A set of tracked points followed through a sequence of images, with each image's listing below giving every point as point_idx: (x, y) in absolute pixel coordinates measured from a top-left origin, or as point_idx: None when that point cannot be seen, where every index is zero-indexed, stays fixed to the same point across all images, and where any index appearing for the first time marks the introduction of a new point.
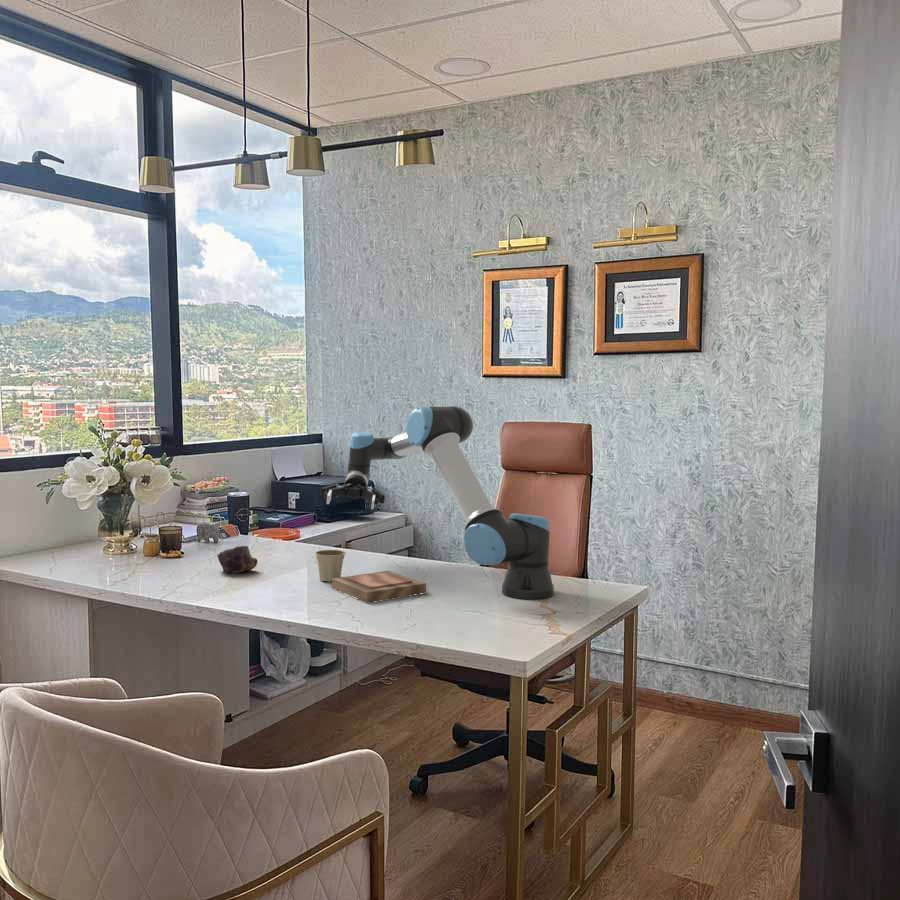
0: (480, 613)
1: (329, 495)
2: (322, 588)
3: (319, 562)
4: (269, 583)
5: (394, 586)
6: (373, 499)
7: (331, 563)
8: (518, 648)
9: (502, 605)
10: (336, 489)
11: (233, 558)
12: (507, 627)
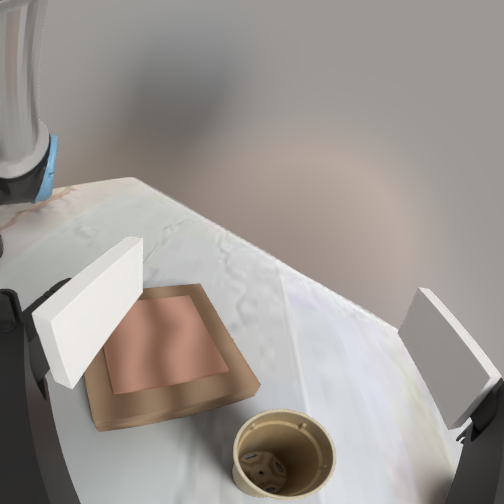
0: (81, 227)
1: (421, 289)
2: (274, 402)
3: (307, 442)
4: (384, 446)
5: (141, 296)
6: (120, 247)
7: (272, 426)
8: (119, 184)
9: (37, 236)
10: (499, 451)
11: None
12: (91, 202)
